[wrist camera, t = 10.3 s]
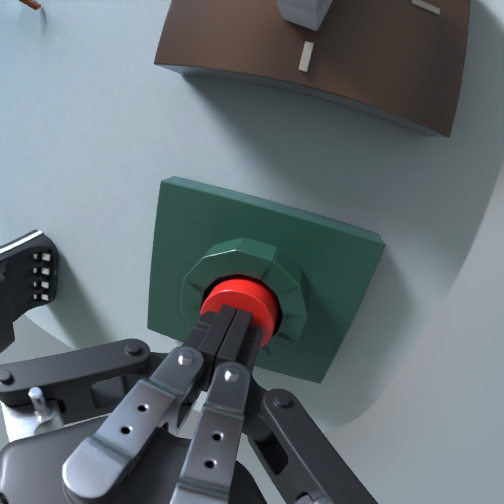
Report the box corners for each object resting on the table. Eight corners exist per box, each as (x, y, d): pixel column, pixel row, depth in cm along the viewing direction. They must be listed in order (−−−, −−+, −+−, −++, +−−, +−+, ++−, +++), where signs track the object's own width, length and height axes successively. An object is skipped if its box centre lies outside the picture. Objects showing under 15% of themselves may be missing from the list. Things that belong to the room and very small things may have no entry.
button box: (379, 233, 16) (393, 257, 13) (321, 367, 20) (319, 404, 17) (173, 176, 17) (143, 186, 14) (157, 315, 21) (134, 343, 18)
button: (286, 285, 15) (282, 304, 14) (268, 340, 17) (262, 361, 15) (217, 265, 16) (205, 280, 14) (206, 321, 17) (195, 339, 15)
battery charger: (62, 309, 24) (-23, 384, 13) (35, 288, 24) (-50, 352, 13) (67, 244, 21) (-47, 315, 10) (37, 224, 21) (-72, 281, 10)
